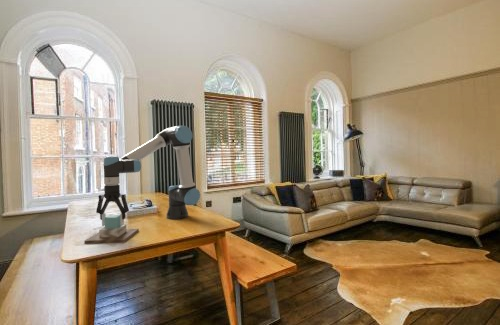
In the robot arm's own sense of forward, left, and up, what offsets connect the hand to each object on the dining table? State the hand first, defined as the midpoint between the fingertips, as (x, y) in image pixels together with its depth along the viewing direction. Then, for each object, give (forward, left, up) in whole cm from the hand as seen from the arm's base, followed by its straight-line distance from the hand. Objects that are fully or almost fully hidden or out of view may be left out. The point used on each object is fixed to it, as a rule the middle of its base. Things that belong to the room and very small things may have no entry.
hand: (113, 225), depth 146 cm
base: (0, 0, -7) cm, 7 cm away
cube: (0, 0, -1) cm, 1 cm away
